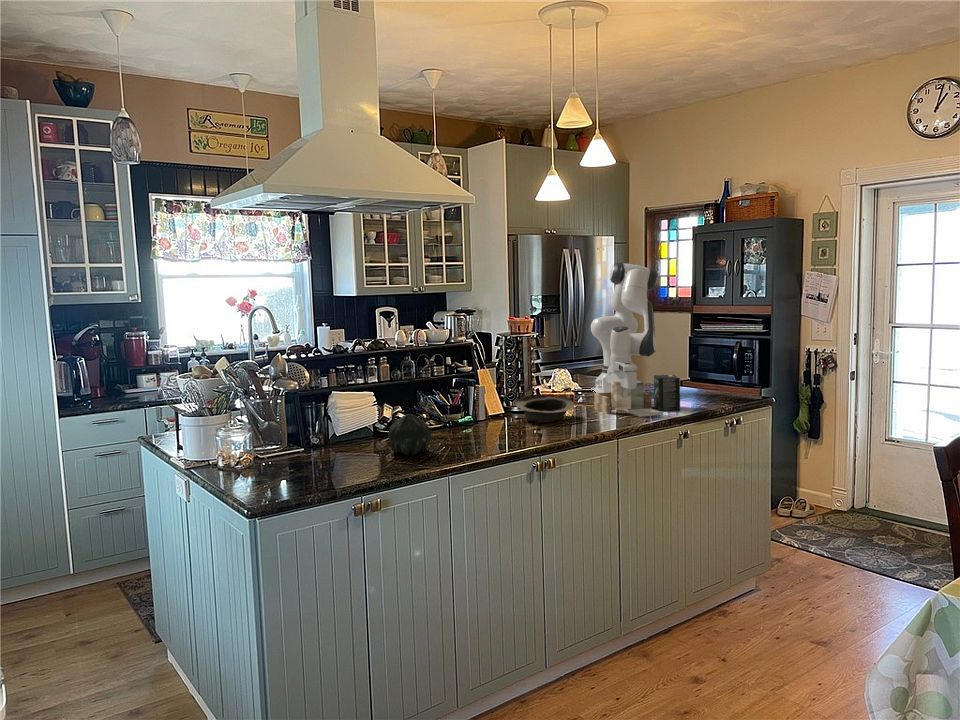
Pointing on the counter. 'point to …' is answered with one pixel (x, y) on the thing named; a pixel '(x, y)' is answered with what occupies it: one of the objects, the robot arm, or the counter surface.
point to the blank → (619, 397)
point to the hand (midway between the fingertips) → (621, 396)
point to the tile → (644, 412)
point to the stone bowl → (544, 407)
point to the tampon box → (667, 392)
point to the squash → (409, 435)
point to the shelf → (637, 399)
